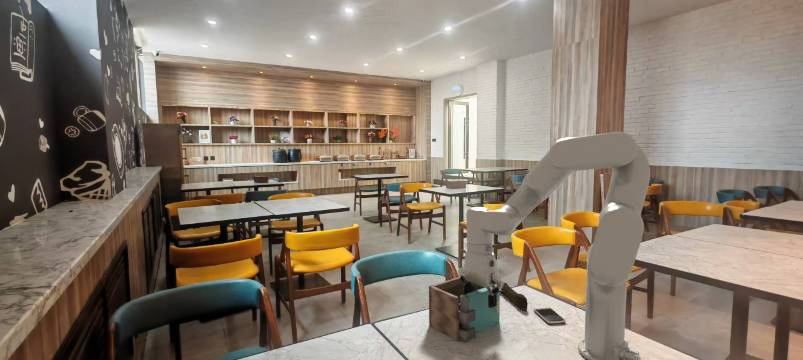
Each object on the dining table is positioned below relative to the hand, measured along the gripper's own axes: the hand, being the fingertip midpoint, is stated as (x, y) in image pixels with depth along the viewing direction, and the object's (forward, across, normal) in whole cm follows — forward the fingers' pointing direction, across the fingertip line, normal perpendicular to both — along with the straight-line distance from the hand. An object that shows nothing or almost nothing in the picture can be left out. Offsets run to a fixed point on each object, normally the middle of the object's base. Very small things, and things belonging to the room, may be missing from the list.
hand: (480, 301), depth 120 cm
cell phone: (+10, -8, -24) cm, 27 cm away
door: (+9, 0, 0) cm, 9 cm away
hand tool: (+9, +7, -27) cm, 29 cm away
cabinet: (+9, +4, +1) cm, 10 cm away
